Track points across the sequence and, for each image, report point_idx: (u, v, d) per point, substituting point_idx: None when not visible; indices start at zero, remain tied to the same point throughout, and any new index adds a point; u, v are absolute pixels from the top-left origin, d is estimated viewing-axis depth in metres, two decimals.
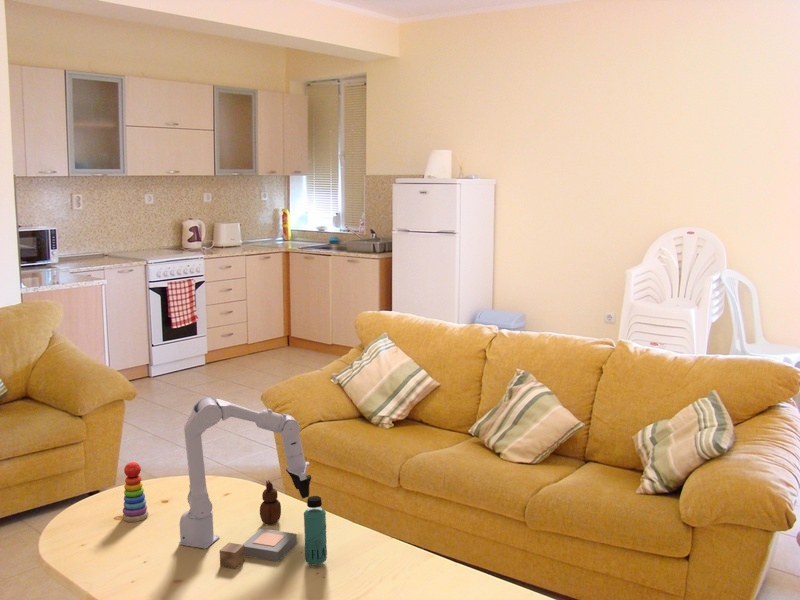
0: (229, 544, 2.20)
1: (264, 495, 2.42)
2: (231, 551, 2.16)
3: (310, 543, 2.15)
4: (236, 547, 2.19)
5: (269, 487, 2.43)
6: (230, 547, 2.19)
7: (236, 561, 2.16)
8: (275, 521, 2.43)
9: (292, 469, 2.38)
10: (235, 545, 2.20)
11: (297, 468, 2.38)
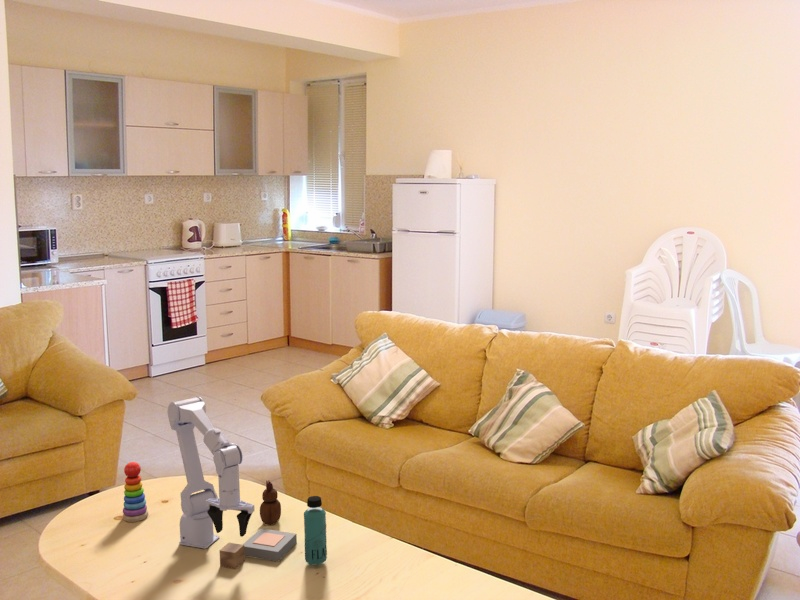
0: (229, 544, 2.20)
1: (264, 495, 2.42)
2: (231, 551, 2.16)
3: (310, 543, 2.15)
4: (236, 547, 2.19)
5: (269, 487, 2.43)
6: (230, 547, 2.19)
7: (236, 561, 2.16)
8: (275, 521, 2.43)
9: None
10: (235, 545, 2.20)
11: None
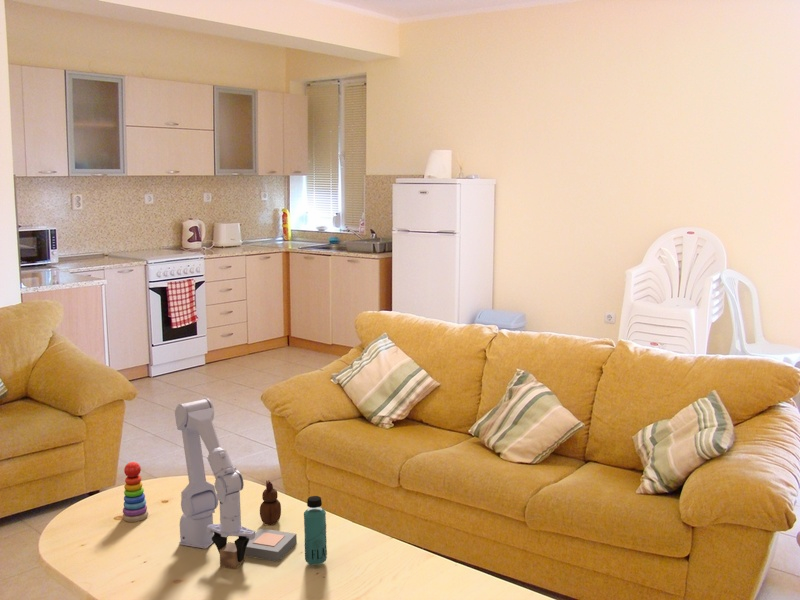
0: (229, 544, 2.20)
1: (264, 495, 2.42)
2: (231, 551, 2.16)
3: (310, 543, 2.15)
4: None
5: (269, 487, 2.43)
6: (230, 546, 2.19)
7: (236, 560, 2.16)
8: (275, 521, 2.43)
9: None
10: (235, 545, 2.20)
11: None
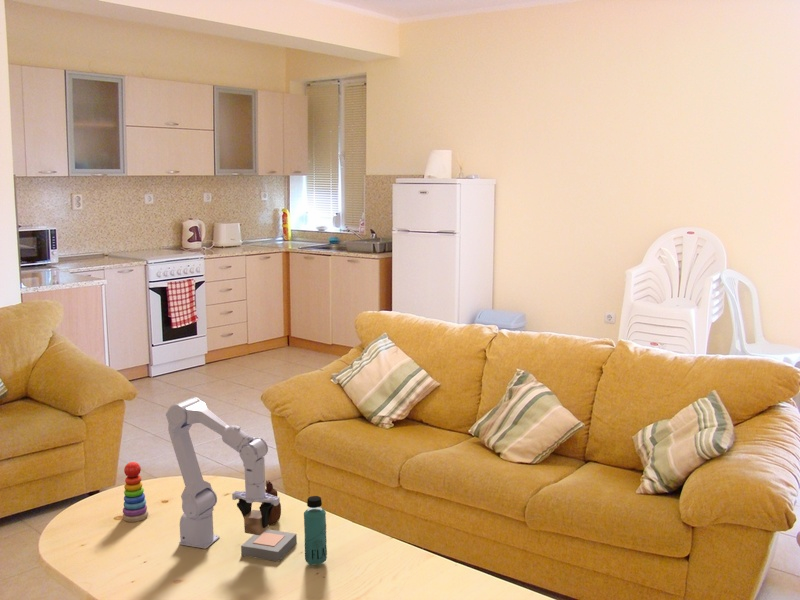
0: (253, 511, 2.25)
1: None
2: (255, 517, 2.20)
3: (310, 543, 2.15)
4: (260, 513, 2.23)
5: (269, 487, 2.43)
6: (254, 513, 2.23)
7: (260, 527, 2.21)
8: (275, 521, 2.43)
9: None
10: (259, 512, 2.24)
11: None
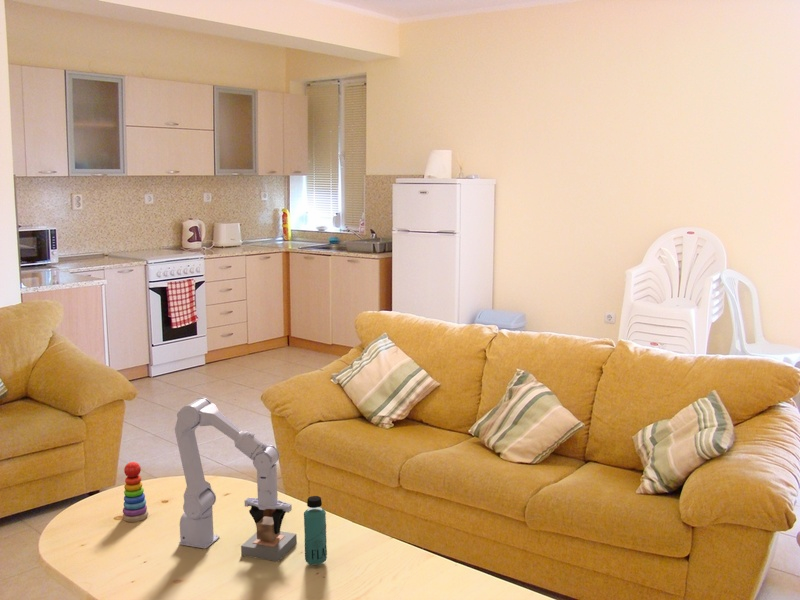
0: (265, 518, 2.28)
1: None
2: (268, 524, 2.24)
3: (310, 543, 2.15)
4: (272, 520, 2.26)
5: None
6: (266, 520, 2.26)
7: (272, 533, 2.24)
8: None
9: None
10: (271, 518, 2.27)
11: None
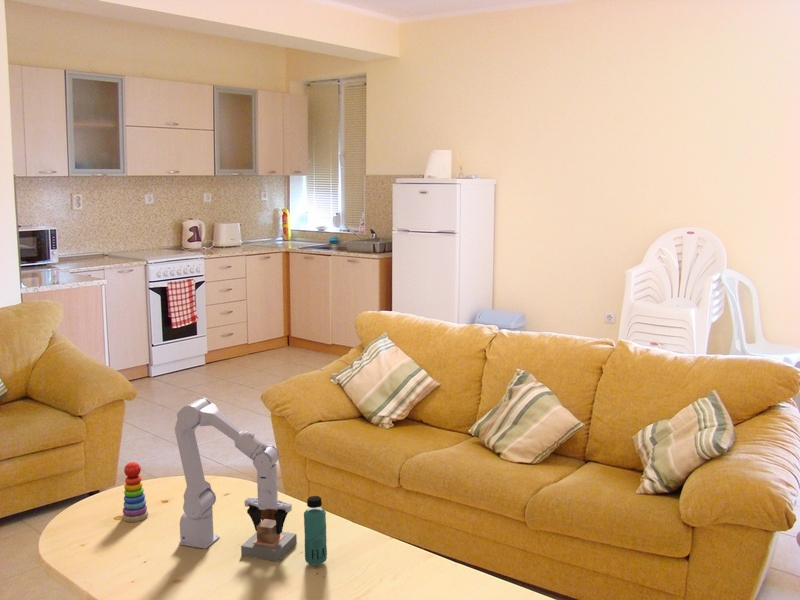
0: (265, 520, 2.28)
1: None
2: (268, 526, 2.24)
3: (310, 543, 2.15)
4: (272, 523, 2.26)
5: None
6: (267, 523, 2.26)
7: (273, 536, 2.24)
8: None
9: None
10: (271, 521, 2.28)
11: None
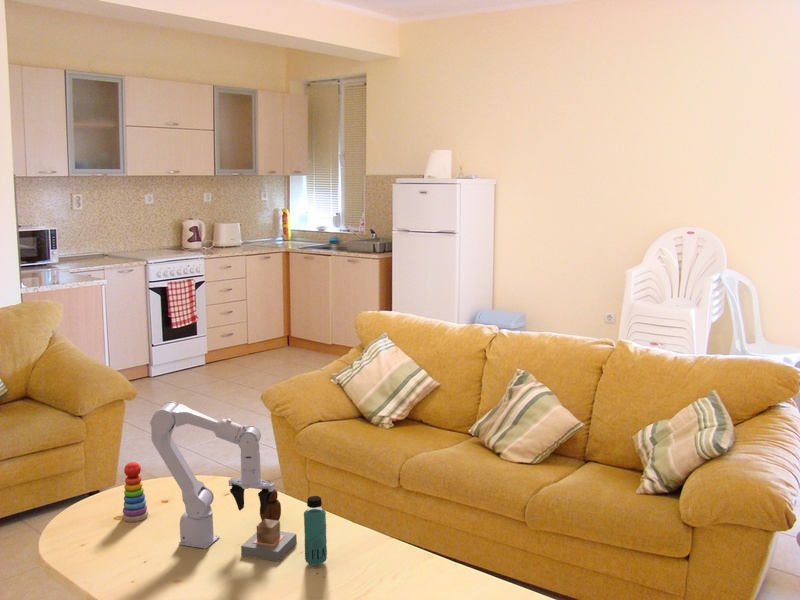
0: (265, 520, 2.28)
1: None
2: (268, 526, 2.24)
3: (310, 543, 2.15)
4: (272, 523, 2.26)
5: None
6: (267, 523, 2.26)
7: (273, 536, 2.24)
8: None
9: None
10: (271, 521, 2.28)
11: None
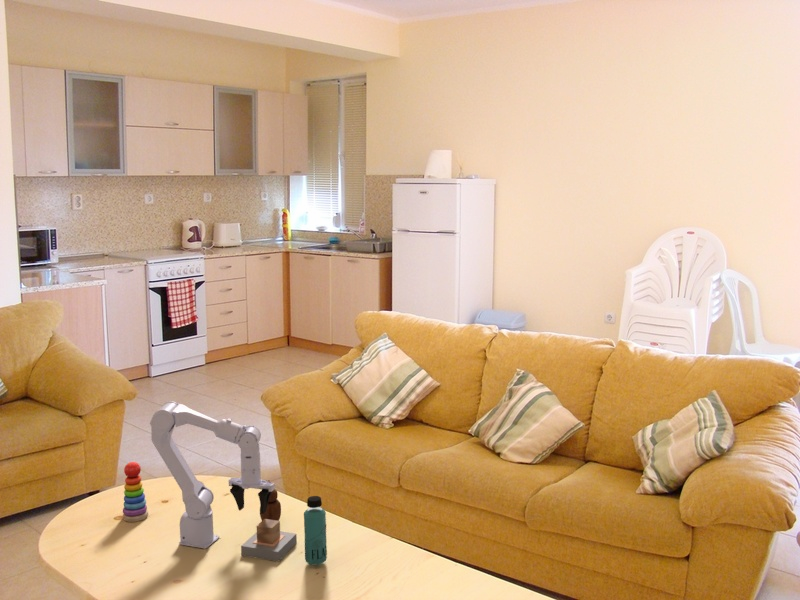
0: (265, 520, 2.28)
1: None
2: (268, 526, 2.24)
3: (310, 543, 2.15)
4: (272, 523, 2.26)
5: None
6: (267, 523, 2.26)
7: (273, 536, 2.24)
8: None
9: None
10: (271, 521, 2.28)
11: None
